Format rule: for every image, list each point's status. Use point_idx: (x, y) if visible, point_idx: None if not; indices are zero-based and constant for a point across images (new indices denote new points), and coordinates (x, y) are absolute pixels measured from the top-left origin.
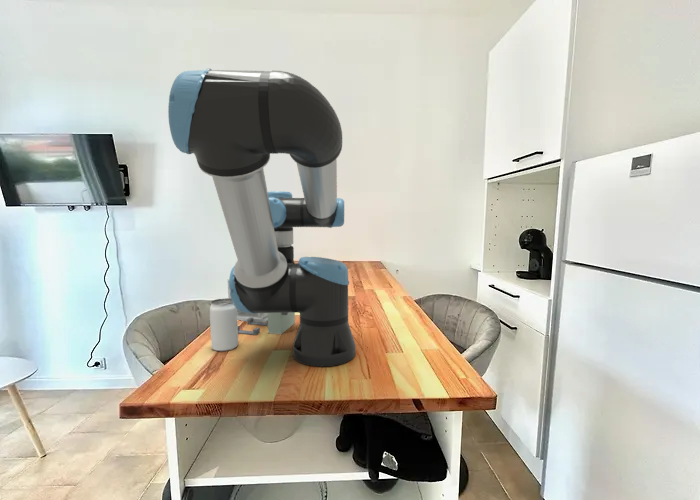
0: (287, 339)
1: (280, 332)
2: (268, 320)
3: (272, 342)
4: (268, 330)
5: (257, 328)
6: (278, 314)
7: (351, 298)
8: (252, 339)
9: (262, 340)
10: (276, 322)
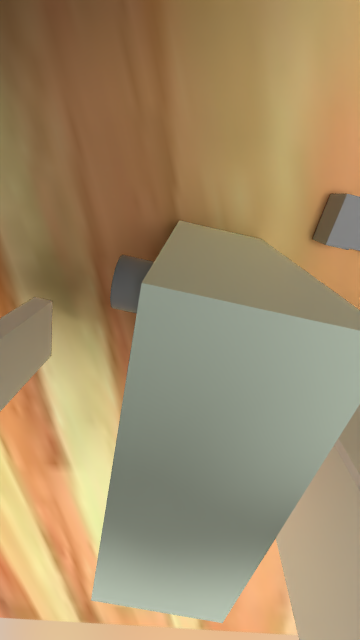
0: (116, 119)
1: (182, 221)
2: (277, 253)
3: (203, 45)
4: (262, 241)
5: (340, 228)
6: (191, 244)
7: (10, 608)
8: (352, 106)
9: (279, 88)
10: (210, 237)
